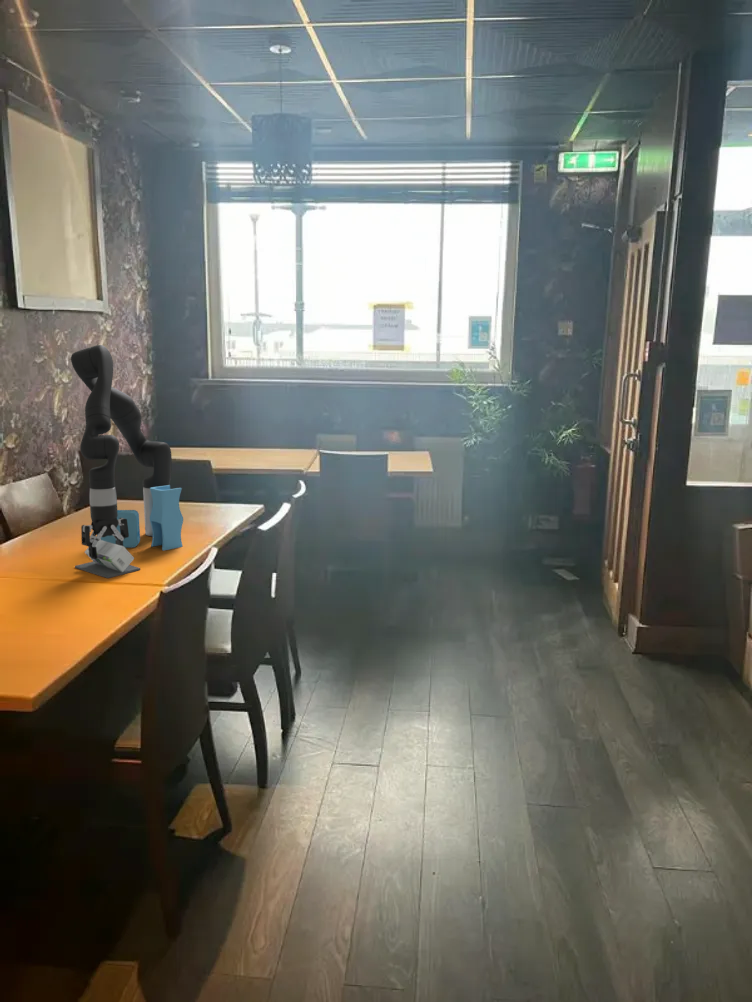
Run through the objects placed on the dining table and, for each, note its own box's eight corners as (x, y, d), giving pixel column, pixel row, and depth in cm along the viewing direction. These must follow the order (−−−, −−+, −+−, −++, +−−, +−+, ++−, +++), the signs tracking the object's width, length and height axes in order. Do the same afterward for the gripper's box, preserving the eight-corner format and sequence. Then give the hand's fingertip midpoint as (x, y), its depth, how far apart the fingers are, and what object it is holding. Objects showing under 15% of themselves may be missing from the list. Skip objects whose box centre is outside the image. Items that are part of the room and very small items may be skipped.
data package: (140, 544, 250) (138, 509, 248) (137, 547, 245) (135, 512, 243) (104, 544, 249) (101, 510, 246) (100, 548, 244) (98, 512, 242)
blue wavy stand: (184, 546, 248) (182, 488, 244) (163, 550, 242) (160, 490, 238) (171, 542, 253) (169, 484, 249) (150, 546, 247) (148, 487, 243)
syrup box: (122, 573, 215) (94, 564, 224) (135, 557, 218) (107, 550, 227) (111, 560, 212) (82, 552, 220) (124, 545, 215) (96, 537, 223)
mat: (74, 567, 222) (74, 565, 221) (107, 560, 230) (107, 558, 230) (107, 578, 211) (107, 576, 211) (140, 569, 220) (140, 567, 220)
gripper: (117, 497, 225) (120, 548, 228) (74, 504, 214) (77, 558, 217) (131, 500, 220) (134, 552, 223) (88, 508, 209) (92, 563, 212)
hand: (106, 555), depth 220 cm, fingers open, 8 cm apart
